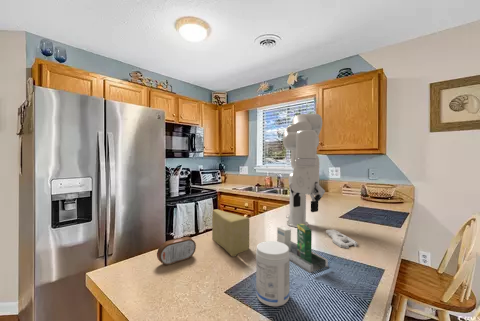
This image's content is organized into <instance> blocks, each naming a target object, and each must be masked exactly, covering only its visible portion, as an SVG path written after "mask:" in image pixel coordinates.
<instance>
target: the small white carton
mask: <svg viewBox="0 0 480 321" xmlns="http://www.w3.org/2000/svg"><path fill="white" fill-rule="evenodd" d="M276 228H277V231H276V235H277V237H276V239H277V240H276V241H277V242H281V243H284V244H285V245H287V246H288V248H289V251H291V241H292V240H291V239H292V229H290V228H288V227H286V226H283V225H281V226H277V227H276Z"/></svg>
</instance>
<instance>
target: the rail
mask: <svg viewBox="0 0 480 321" xmlns="http://www.w3.org/2000/svg"><path fill="white" fill-rule="evenodd" d="M289 262H290V263H292V264H294V265H295V266H297V267H299V268H300V269H302V270H304V271H306V272H307V273H309V275H308V276H309V277H310V276H312V275H314V274H317V273H321V272H323V271H327V270H328V269H330V268H329V264H328V263H329V259H328V258H325V257H324V256H322V255H320V254H318V253H316V252H313V251H312V250H311V263H310V262H308V261H306V260H304V259H302V258H301V257H299V256H297V242H294V241H292V240H291V251H289ZM322 269H323V270H322ZM318 270H319V271H318ZM310 273H312V274H310Z"/></svg>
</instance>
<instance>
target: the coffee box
mask: <svg viewBox="0 0 480 321" xmlns="http://www.w3.org/2000/svg"><path fill="white" fill-rule="evenodd" d="M296 230H297V232H296V233H297V234H296V237H297V238H296V239H297V242H296V244H297V256H299V257H301V258H302V259H304V260H306V261H308V262H310V263H311V251H312V239H313V238H312V235H313V234H312V233H313V230H312V229H311V228H310V227H309V226H306V225H304V224H297V227H296Z"/></svg>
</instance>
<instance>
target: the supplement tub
mask: <svg viewBox="0 0 480 321" xmlns="http://www.w3.org/2000/svg"><path fill="white" fill-rule="evenodd" d="M255 264H256V266H255V268H256V269H255V274H256V276H255V278H256V282H255V284H256V286H255V287H256V291H255V292H256V298H257V299H258V301H260V303H262V304H264V305H266V306H269V307H281V306H283V305H285V304H286V303H288V301H289V299H290V261H289V248H288V246H287V245H285V244H284V243H281V242H277V240H267V241H262V242H259V243H258V244H257V245H256V250H255Z"/></svg>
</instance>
